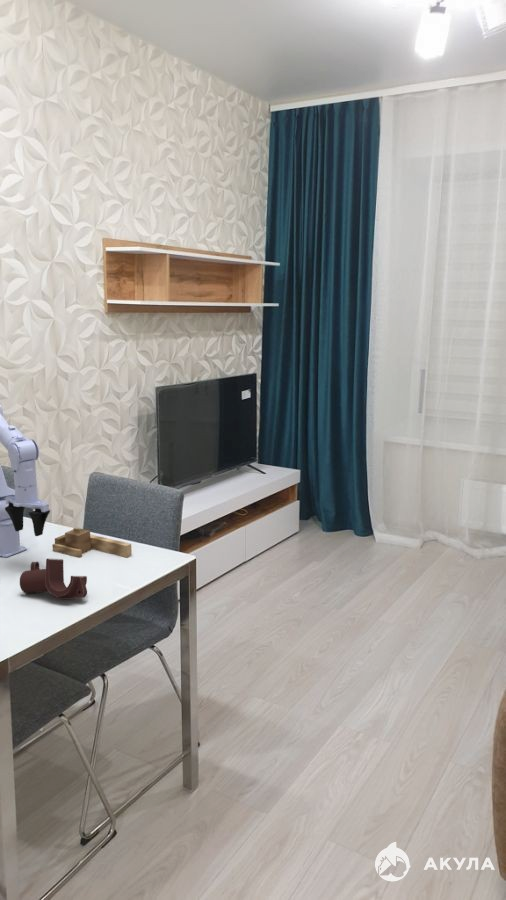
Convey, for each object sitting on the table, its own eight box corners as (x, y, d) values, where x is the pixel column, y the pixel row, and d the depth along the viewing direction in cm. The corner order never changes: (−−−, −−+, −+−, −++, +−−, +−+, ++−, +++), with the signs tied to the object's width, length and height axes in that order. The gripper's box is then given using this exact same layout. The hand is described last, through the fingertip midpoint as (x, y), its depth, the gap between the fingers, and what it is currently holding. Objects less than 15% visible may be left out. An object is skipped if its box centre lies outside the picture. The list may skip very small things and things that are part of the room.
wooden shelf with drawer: (52, 550, 209) (52, 539, 208) (74, 541, 217) (74, 530, 216) (110, 565, 198) (109, 553, 198) (131, 555, 206) (131, 543, 205)
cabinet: (66, 552, 208) (64, 529, 207) (77, 547, 213) (76, 524, 211) (79, 555, 206) (78, 532, 204) (91, 550, 210) (89, 527, 209)
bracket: (78, 597, 172) (77, 555, 174) (18, 602, 177) (18, 561, 179) (92, 596, 177) (91, 556, 179) (34, 601, 183) (33, 562, 185)
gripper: (-5, 484, 194) (-2, 532, 197) (33, 492, 187) (36, 541, 190) (15, 478, 200) (19, 525, 203) (53, 485, 192) (56, 534, 195)
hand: (28, 532), depth 196 cm, fingers open, 7 cm apart
